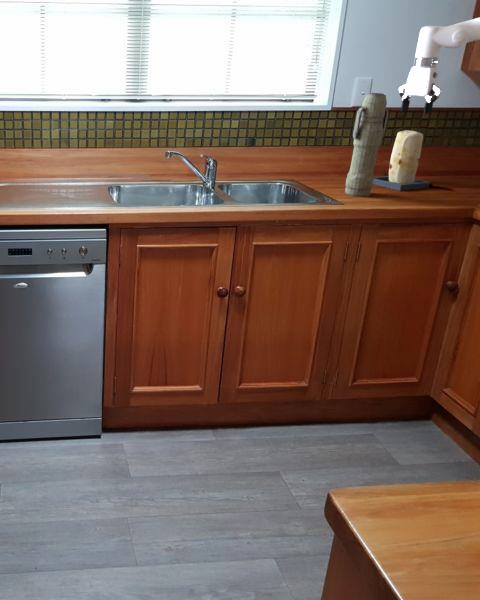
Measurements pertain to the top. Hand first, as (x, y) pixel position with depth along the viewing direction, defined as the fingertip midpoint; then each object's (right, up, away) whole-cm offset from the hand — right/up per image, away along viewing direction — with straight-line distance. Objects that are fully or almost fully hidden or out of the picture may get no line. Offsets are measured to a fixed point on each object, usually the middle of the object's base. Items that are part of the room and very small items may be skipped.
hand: (415, 112), depth 226 cm
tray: (-1, -25, +11) cm, 28 cm away
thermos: (-23, -31, -4) cm, 39 cm away
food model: (-1, -25, +10) cm, 27 cm away
